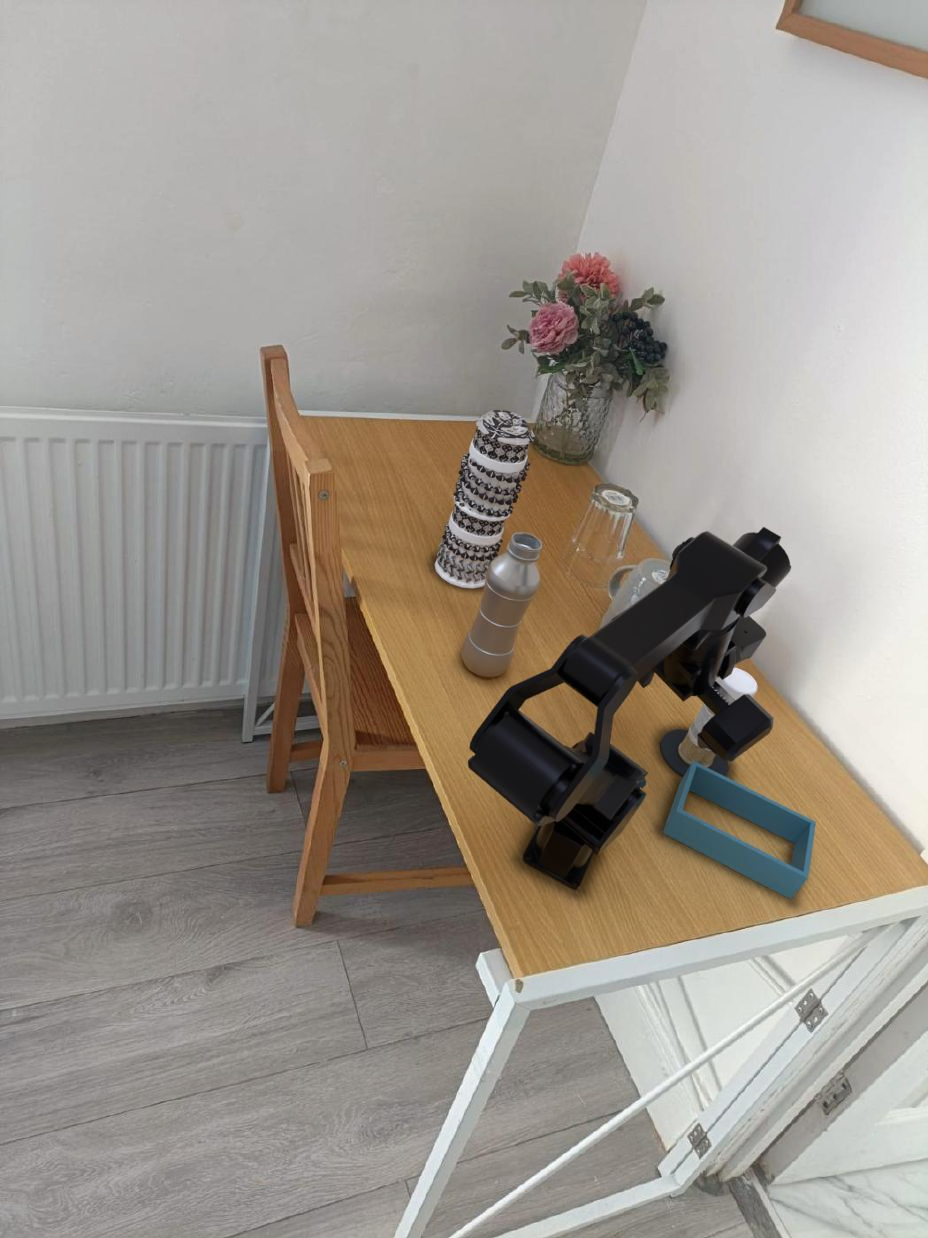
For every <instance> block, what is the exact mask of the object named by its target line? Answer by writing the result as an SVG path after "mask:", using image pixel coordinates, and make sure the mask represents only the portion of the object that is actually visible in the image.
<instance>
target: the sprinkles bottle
mask: <svg viewBox="0 0 928 1238" xmlns="http://www.w3.org/2000/svg"><path fill="white" fill-rule="evenodd" d="M716 682H717V683H719V684H720V685H721V686H722V687H723V688H724V689H725V690H726V691H727V692H728V693H729V694H730V695H731V696H732V697H733V698H734V699H735V700H737V699H738V698H740V697H741V696H742V695H744V694H749V695H750V696H751V697H752V698H753V699H754V697H755V695H756V693H757V692H758V683H757V681H756V680H755V678H754V676H752V675H751V674H750V673H748V672H747V671H746V670H744V669H740V668H738V667H734V669H733V671H732V674H731V675H729V676H728V677H726V678H725V679H724V680H722V679H721V678H720V677H718V678H717V679H716ZM714 715H715V714H714V713H713V712H712V711H711V710H710V709H709V708H708V707H707V706H706V705H705V704H704V703H703V704H702V706H701V707H700V709H699V711H698V712H697V714H696V716H695V718H694V720H693V721H692V723H691V725H690V727H689V729H688V730H689V731H688V733H687V735H686V737H685V739H684V740H683V742H682V743H681V744H680V745H679V747H678V752H679V755H680V757H681V758H682V759H683V761H684V762H686V763H687V764H688V765H691V763H692V762H693V761H695V762H697V763H699V764H701V765H703V766H705V767H707V768H708V767H709V766H710V765H711V764H712V762H713V759H714V757H715V756H716V754H714V753H713V752H712V751H711V750H709V749H707V748H702V749H701V748H700V747H699V746H698V743H697V735H698V734H699V733H700V732H701V730H702V728H703V726H704V725H705V724H706V723H707V722H708V721H709V720H710V719H711V718H712V717H713V716H714Z"/></svg>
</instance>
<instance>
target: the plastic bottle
mask: <svg viewBox="0 0 928 1238" xmlns="http://www.w3.org/2000/svg"><path fill="white" fill-rule="evenodd" d="M542 549H543V543H542V541H541V540H540V539H539V537H537V536H535V535H533V534H531V533H528V532H524V531H518V532H515V533H513V534H512V536H511V537H510V540H509V542H508V543H507V546H506V551H505V552H503V553H502V554H500V555H498V556H496V557H495V559H494V560H493V561H492V562H491V564H490V565H489V566H488V568H487V573H486V579H485V585H484V586H483V594H482V597H481V601H480V605H479V608H478V612H477V614H476V617H475V618H474V621H473V623H472V626H471V627H470V629H469V631H468V632H467V634H466V636H465V637H464V640H463V642H462V645H461V652H460V653H461V655H460V656H461V659H462V661H463V663H464V665H465V667H466V668H467V669H468V670H469V671H470V672H472V673H473V674H475V675H477V676H480V677H484V678H496V677H499V676H501V675H502V674H504V673H506V671H507V670H508V669H509V668H510V666H511V664H512V662H513V660H514V654H515V648H516V647H515V645H516V641H517V637H518V633H519V629H520V626H521V623H522V621H523V620H524V616H525V614H526V612H527V610H528V608H529V607H530V605H531V603H532V601H533V599H534V597H536V594H537V592H538V590H539V588H540V586H541V575H540V572H539V568H538V565H537V563H536V562H537V561H538V560H539V557H540V553H541V550H542Z"/></svg>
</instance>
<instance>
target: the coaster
mask: <svg viewBox="0 0 928 1238" xmlns="http://www.w3.org/2000/svg"><path fill="white" fill-rule="evenodd" d="M688 731H689V729H683V728H677V729H672V730H670V731H667V732H666V733H665V734H663V736H662V737H661V739H660V742H659V750H660V754H661V756H662V758H663V760H664V762H665V763H666V765H668V767H669V768H671V769H672V770H673V771H674V772H675V773H676V774H677V775H679V776H680V777H682V778H683V777H684V775H685V773H686V772H687V770H688V768H689V767H690V765H688V764H687V763H686V762H684V761H683V759H682V758H681V757H680V755H679V752H678V747H679V745H680V744H681V743H682V742H683V740H684V739H685V737H686V735H687V733H688ZM708 768H709V769H711V770H713V771H715V772H717V773H719V774H721V775H723V776H725V777H727V776H728V774H729V771H730V766H729V761H725V760H723V759H722V758H721V757H720V756H719V755H716V756H715V757H714V759H713V762H712V764H711V765H710V766H709V767H708Z"/></svg>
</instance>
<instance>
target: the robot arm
mask: <svg viewBox="0 0 928 1238" xmlns="http://www.w3.org/2000/svg"><path fill="white" fill-rule="evenodd" d="M781 539H782V536H780V535H779V534H777V533H776V532H774V531H772V530H770V529H769V528H767V527H765V526H762V528H761V529H760V530H759V531H758V532H755V531H751V532H746V533H744V534H742V535H741V536H740V537H739V538H738V539H737V540H736V541H735V542H734V543H733V544H731V543H729V542H727V541H725V540H724V539H723V538H721V537H719V536H718V535H716V534H714V533H712V532H711V531H710V530H706V531H702V532H700V533H699V534H698V535H696V536H695V537H694V536H690V537H689V538H687V539H686V540H685V541H684V540H683V541H682V542H681V543H679V544H678V545H676V547H675V548H674V549H673V552H672V554H671V557H672V559H671V561H670V564H669V572H668V574H667V577H666V579H665V581H663V582H662V583H661V584H659V585H658V586H657V587H655V588H654V589H652V590H651V591H650V592H648V593H647V594H645V595H644V596H643V597H641V598H640V599H639V600H638V601H636V602H634V603H633V604H632V605H630V606H629V607H628V608H626V609H625V610H623V611H621V612H620V613H619V614H617V615H615V616H614V617H613V618H611V620H610V621H609V622H608V623H606V624H605V625H603V626H602V627H601V628H599V629H598V630H597V631H595V632H594V633H593V634H592V635H589V636H588V635H586V634H583V633H582V634H580V635H577V636H576V637H575V638H574V639H572V641H570V643H569V644H568V645H567V646H566V647H565V649H564V650H563V652H562V653H561V654H560V655H559V657H558V658H557V659H556V661H555V662H554V663H553V665H552V666H551V667H550V668H548V669H546V670H544V671H542V672H540V673H537V674H535V675H533V676H531V677H529V678H527V679H524V680H522V681H520V682H518V683H515V684H513V685H511V686H510V687H509V688H507V690H506V691H505V692H504V693H503V695H502V696H501V697H500V698H499V700H498V701H497V703H496V704H495V705H494V706H493V708H492V709H491V711H489V713H488V715H487V716H486V717H485V718H484V720H483V721H482V723H481V724H480V725H479V727H478V728H477V730H476V731H475V732H474V734H473V736H471V737H472V738H471V740H470V742H469V748H468V749H469V750H470V751H471V753H473V754H474V755H472V756H471V757H470V758H469V759H468V760H467V767H468V769H470V770H471V772H473V773H474V774H475V775H476V776H477V777H479V779H481V780H482V781H483V782H485V783H486V784H487V785H488V786H489V787H490V788H492V789H493V790H494V791H495V792H496V793H497V794H498V795H500V796H501V797H502V798H503V799H504V800H506V802H508V803H509V804H510V805H512V806H513V807H514V808H515V809H516V810H517V811H519V812H520V813H521V814H522V815H524V817H526V818H527V819H528V820H529V821H531V822H532V823H533V824H534V825H535V826H537V827H536V829H535V830H534V833H533V835H532V837H531V839H530V841H529V843H528V845H527V847H526V848H525V851H524V853H523V855H521V861H522V862H523V863H525V864H526V865H529V866H531V867H532V868H534V869H536V870H538V871H539V872H541V873H543V874H545V875H547V876H549V877H551V878H553V879H554V880H556V881H558V882H560V883H562V884H564V885H566V886H567V887H569V888H571V889H573V890H578V889H579V888H580V886H581V885H582V882H583V880H584V877H585V876H586V873H587V870H588V868H589V866H590V863H591V861H592V859H593V856H594V855H596V856H597V857H598V856H600V855H601V854H602V853H603V852H604V851H605V850H606V849H607V848H608V847H609V846H611V844H612V843H613V842H614V841H615V840H616V839H617V838H618V837H619V836H621V834H622V833H623V831H624V830H625V829H626V827H627V826H628V824H629V823H630V821H631V820H632V819H633V816H634V815H635V814H636V812H637V811H638V810H639V808H640V806H641V805H642V803H643V802H644V801H645V798H646V796H647V792H646V791H644V790H643V789H644V788H645V787H646V785H647V779H646V777H647V776H648V774H649V771H647V770H646V769H645V768H643V767H642V766H641V765H640V764H638V763H637V762H636V761H634V760H633V759H631V758H630V757H629V756H627V755H626V754H625V753H624V752H623V751H621V750H619V748H618V747H616V746H615V745H613V744H612V743H611V741H612V733H613V724H614V716H615V714H616V713H617V711H618V710H619V709H620V707H621V706H622V704H624V702H625V700H626V699H627V698H628V696H629V695H630V694H631V693H632V690H633V689H634V688H635V685H636V683H638V684H639V685H640V687H641V688H642V689H645V688H647V687H648V686H649V685H650V684H651V683H652V681H653V678H654V676H655V675H656V676H657V678H659V679H660V680H661V681H662V682H663V683H664V684H665V685H666V686H667V687H668V688H669V689H670V690H671V691H672V692H673V693H674V694H675V695H676V696H677V698H679V699H680V701H682V703H684V702H686V701H687V700H688V699H689V698H692V697H697V698H698V699H699V700H700V701H701V702H702V703H703V704H705V705H706V706H707V707H708V708H709V709H710V710H711V711H712V712H713V713H714V714H715V715H714V716H713V717H712V718H711V719H710V720H709V721H708V722H707V723H706V724H705V725H704V726H703V728H702V730H701V732H700V733H699V734H698V735H697V743H698V746H699V747H700V748H701V749H702V748H707V749H709V750H711V751H712V752H713V753H714V754H716V755H719V756H720V757H721V758H722V759H723V760H725V761H728V762H733V761H734V760H736V759H737V758H739V757H740V756H741V755H743V754H744V753H745V752H747V751H748V750H749V749H751V748H752V747H753V746H755V745H756V744H757V743H759V742H761V740H763V739H764V738H765V737H767V736H768V735H769V734H770V733H771V731H772V730H773V727H774V720H775V719H774V716H772V715H771V714H770V713H769V711H767V710H766V709H765V708H764V707H763V706H762V705H761V704H760V703H759V702H758V701H757V700H756V699H755V698H754V697H753V698H752V697H751V696H750V695H749V694H744V695H742V696H741V697H740V698H738V699H737V700H735V699H734V698H733V697H732V696H731V695H730V694H729V693H728V692H727V691H726V690H725V689H724V688H723V687H722V686H721V685H720V684H719V683H717V682H716V679H717V678H718V677H720V678H721V679H722V680H724V679H725V678H726V677H728V676H729V675H731V674H732V671H733V669H734V668H735V666H736V665H737V664H739V663H741V662H744V661H745V660H749V659H751V658H752V657H753V656H754V654H755V653H756V651H757V650H758V649H759V647H760V646H761V645H762V643H763V642H764V640H765V638H766V637H767V632H766V630H765V629H764V628H763V627H762V626H761V625H760V624H759V623H758V622H757V621H755V619H753V618H752V617H751V615H752V614H754V613H755V612H757V611H759V610H760V609H762V608H763V607H764V606H765V605H766V604H767V603H768V602H769V601H770V599H771V598H772V597H773V596H774V595H775V594H776V592H777V587H778V586H779V585H780V584H781V583H782V581H783V580H784V579H785V578H786V577H787V576H788V575H789V574H790V573H791V570H792V565H791V561H790V558H789V556H788V554H787V552H786V550H785V549H784V547H782V545H781V544H780V542H781ZM562 684H565V685H566V686H568V687H569V688H570V689H572V690H574V692H576V693H577V694H579V695H580V696H581V697H583V698H584V699H585V700H587V701H588V702H590V703H591V704H592V705H593V706H594V707H596V708H597V710H596V717H595V723H594V724H595V725H594V732H592V731H589V732H588V733H587V734H586V735H585V738H584V739H581V740H580V741H578V742H576V743H575V744H574V745H573V746H572V747H571V746H568V745H564V744H563V743H561V742H560V741H559V740H558V739H556V738H555V737H554V736H553V735H551V734H550V733H549V732H547V730H545V729H544V728H543V727H541V725H539V724H538V723H536V722H535V721H534V720H532V719H531V718H530V717H529V716H527V715H526V714H525V713H523V712H522V711H521V710H520V709H521V707H522V706H523V705H524V703H525V702H526V701H527V700H529V699H531V698H534V697H536V696H538V695H540V694H542V693H545V692H546V691H547V692H548V691H549V690H551V689H553V688H556V687H558V686H560V685H562Z"/></svg>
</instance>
